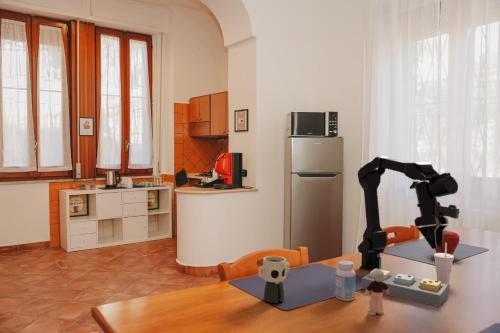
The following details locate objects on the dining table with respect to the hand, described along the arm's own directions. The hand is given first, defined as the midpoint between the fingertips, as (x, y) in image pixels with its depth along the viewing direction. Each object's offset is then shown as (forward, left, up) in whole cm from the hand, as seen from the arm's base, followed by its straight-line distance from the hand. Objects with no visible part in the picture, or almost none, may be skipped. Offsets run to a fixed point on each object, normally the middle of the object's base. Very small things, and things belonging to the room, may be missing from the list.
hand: (437, 248), depth 126 cm
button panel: (-9, -4, -15) cm, 18 cm away
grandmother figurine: (-10, -26, -15) cm, 31 cm away
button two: (-9, -4, -13) cm, 16 cm away
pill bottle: (-22, -21, -15) cm, 34 cm away
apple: (-8, +51, -15) cm, 54 cm away
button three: (-1, -4, -13) cm, 13 cm away
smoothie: (-1, +14, -15) cm, 21 cm away
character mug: (-38, -37, -15) cm, 55 cm away
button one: (-17, -4, -13) cm, 21 cm away
